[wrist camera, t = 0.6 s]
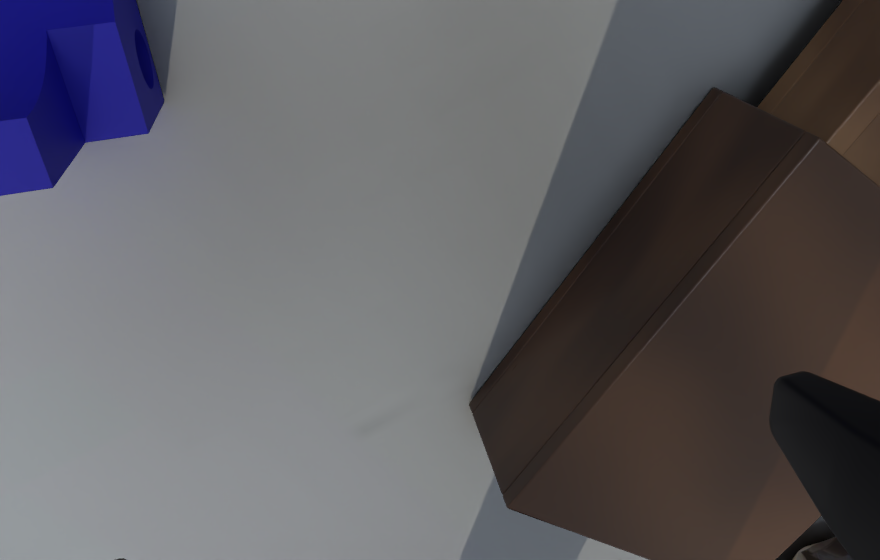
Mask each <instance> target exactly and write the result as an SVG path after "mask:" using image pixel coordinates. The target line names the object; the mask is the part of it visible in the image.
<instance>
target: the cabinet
mask: <svg viewBox="0 0 880 560" xmlns="http://www.w3.org/2000/svg"><path fill="white" fill-rule="evenodd" d="M800 371H806V372H810V373H813V374H815V375H818V376H820V377H823V378H825V379H827V380H830V381H832V382H835V383H837V384H840V385H842V386H845V387H847V388H849V389H852V390H854V391H857V392H859V393H862V394H864V395H867V396H869V397H871V398H874V399H876V400H879V401H880V186H878V185H877V184H876V183H875V182H873V181H872V180H871V179H870V178H869V177H867V176H866V175H865V174H864V173H863V172H861V171H860V170H859V169H858V168H856V167H855V166H854V165H853V164H852V163H850V162H849V161H848V160H847V159H845V158H844V157H843V156H842V155H841V154H839V153H838V152H837V151H836V150H835V149H833V148H832V147H831V146H830V145H828V144H827V143H826V142H825V141H824V140H822V139H821V138H820V137H818V136H816V135H813V134H811V133H809V132H807V131H805V130H803V129H801V128H799V127H797V126H795V125H793V124H790V123H788V122H786V121H784V120H782V119H780V118H778V117H776V116H774V115H772V114H769V113H767V112H765V111H763V110H761V109H759V108H757V107H755V106H753V105H751V104H748V103H746V102H744V101H742V100H740V99H738V98H736V97H734V96H732V95H730V94H728V93H725V92H723V91H721V90H719V89H717V88H712V90H711V91H710V92H709V94H708V95H707V96H706V97H705V99H704V100H703V101H702V103H701V104H700V105H699V107H698V108H697V109H696V110H695V112H694V113H693V114H692V116H691V117H690V118H689V120H688V121H687V122H686V123H685V125H684V126H683V127H682V129H681V130H680V131H679V132H678V134H677V135H676V136H675V138H674V139H673V140H672V142H671V143H670V144H669V145H668V147H667V148H666V149H665V151H664V152H663V153H662V155H661V156H660V157H659V158H658V160H657V161H656V162H655V164H654V165H653V166H652V168H651V169H650V170H649V171H648V173H647V174H646V175H645V177H644V178H643V179H642V180H641V182H640V183H639V184H638V186H637V187H636V188H635V190H634V191H633V192H632V193H631V195H630V196H629V197H628V199H627V200H626V201H625V203H624V204H623V205H622V206H621V208H620V209H619V210H618V212H617V213H616V214H615V215H614V217H613V218H612V219H611V221H610V222H609V223H608V225H607V226H606V227H605V228H604V230H603V231H602V232H601V234H600V235H599V236H598V238H597V239H596V240H595V241H594V243H593V244H592V245H591V247H590V248H589V249H588V251H587V252H586V253H585V254H584V256H583V257H582V258H581V260H580V261H579V262H578V263H577V265H576V266H575V267H574V269H573V270H572V271H571V273H570V274H569V275H568V276H567V278H566V279H565V280H564V282H563V283H562V284H561V286H560V287H559V288H558V289H557V291H556V292H555V293H554V295H553V296H552V297H551V298H550V300H549V301H548V302H547V304H546V305H545V306H544V308H543V309H542V310H541V311H540V313H539V314H538V315H537V317H536V318H535V319H534V321H533V322H532V323H531V324H530V326H529V327H528V328H527V330H526V331H525V332H524V334H523V335H522V336H521V337H520V339H519V340H518V341H517V343H516V344H515V345H514V346H513V348H512V349H511V350H510V352H509V353H508V354H507V356H506V357H505V358H504V359H503V361H502V362H501V363H500V365H499V366H498V367H497V369H496V370H495V371H494V372H493V374H492V375H491V376H490V378H489V379H488V380H487V381H486V383H485V384H484V385H483V387H482V388H481V389H480V391H479V392H478V393H477V394H476V396H475V397H474V398H473V400H472V401H471V402H470V404H469V406H470V409H471V411H472V413H473V417H474V419H475V422H476V425H477V428H478V430H479V433H480V436H481V438H482V441H483V444H484V447H485V449H486V452H487V455H488V457H489V460H490V463H491V465H492V468H493V471H494V474H495V476H496V479H497V482H498V484H499V487H500V490H501V493H502V494H503V498H504V501H505V503H506V506H507V508H508V509H511V510H514V511H517V512H519V513H522V514H525V515H528V516H530V517H533V518H536V519H539V520H542V521H544V522H547V523H550V524H553V525H555V526H558V527H561V528H564V529H566V530H569V531H572V532H575V533H577V534H580V535H583V536H586V537H588V538H591V539H594V540H597V541H599V542H602V543H605V544H608V545H610V546H613V547H616V548H619V549H622V550H624V551H627V552H630V553H633V554H635V555H638V556H641V557H644V558H646V559H649V560H776V559H777V558H778V557H779V556H780V555H781V554H782V553H783V552H784V551H785V550H786V549H787V548H788V547H789V546H790V545H791V544H792V543H793V542H794V541H795V540H796V539H798V538H799V537H800V536H801V535H802V534H803V533H804V532H805V531H806V530H807V529H808V528H809V527H810V526H811V525H812V524H813V523H814V522H815V521H816V520H817V519H818V518H819V517H820V516H821V514H820V512H819V511H818V509H817V508H816V506H815V504H814V503H813V501H812V499H811V498H810V496H809V494H808V493H807V491H806V489H805V488H804V486H803V485H802V483H801V481H800V480H799V478H798V476H797V475H796V473H795V471H794V470H793V468H792V466H791V465H790V463H789V461H788V460H787V458H786V457H785V455H784V453H783V452H782V450H781V448H780V447H779V445H778V443H777V442H776V440H775V438H774V436H773V434H772V432H771V429H770V425H769V415H770V408H771V401H772V394H773V387H774V383H775V381H776V380H777V379H778V378H779V377H782V376H785V375H789V374H792V373H796V372H800Z"/></svg>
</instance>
